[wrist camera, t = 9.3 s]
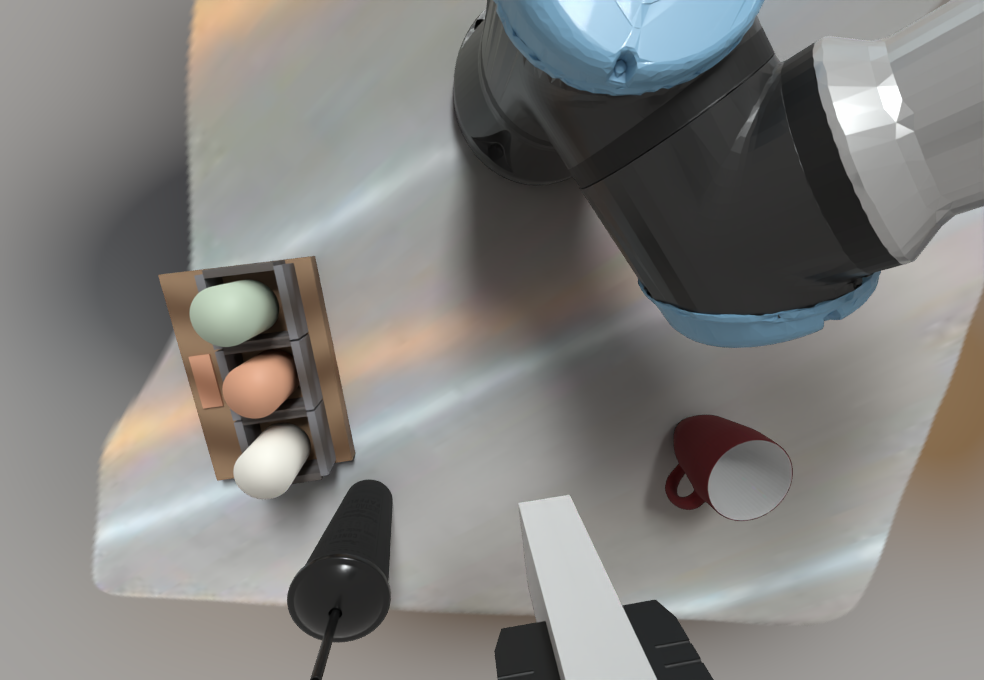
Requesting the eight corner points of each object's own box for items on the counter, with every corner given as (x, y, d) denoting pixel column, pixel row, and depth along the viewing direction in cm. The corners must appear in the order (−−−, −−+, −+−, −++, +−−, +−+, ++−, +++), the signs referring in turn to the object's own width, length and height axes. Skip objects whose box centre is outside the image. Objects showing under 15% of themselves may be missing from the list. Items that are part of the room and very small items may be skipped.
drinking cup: (365, 452, 46) (307, 608, 27) (420, 496, 48) (403, 672, 29) (316, 503, 47) (224, 689, 28) (372, 544, 49) (323, 748, 29)
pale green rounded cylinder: (216, 283, 38) (182, 290, 33) (272, 276, 38) (246, 282, 33) (229, 336, 39) (199, 350, 34) (284, 329, 39) (261, 342, 34)
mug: (682, 496, 51) (737, 556, 42) (627, 463, 50) (671, 518, 40) (740, 421, 50) (811, 465, 40) (685, 384, 48) (745, 422, 39)
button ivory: (253, 426, 41) (227, 452, 36) (305, 419, 41) (286, 443, 36) (265, 472, 42) (241, 503, 37) (315, 464, 42) (298, 494, 37)
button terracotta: (243, 353, 41) (215, 368, 36) (295, 346, 41) (275, 360, 36) (255, 400, 42) (230, 422, 37) (306, 393, 42) (287, 414, 37)
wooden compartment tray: (168, 273, 41) (135, 278, 36) (314, 256, 42) (299, 258, 37) (224, 472, 45) (200, 497, 41) (355, 453, 46) (345, 475, 42)
